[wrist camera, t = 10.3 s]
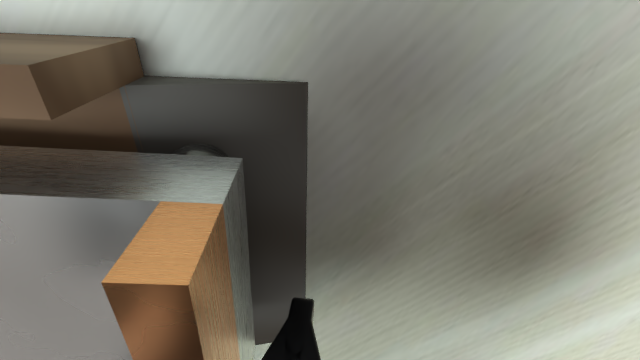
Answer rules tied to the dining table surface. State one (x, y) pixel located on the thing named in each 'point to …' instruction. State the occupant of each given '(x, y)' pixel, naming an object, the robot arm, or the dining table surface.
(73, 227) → the cart
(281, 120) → the dock
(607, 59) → the dining table surface
